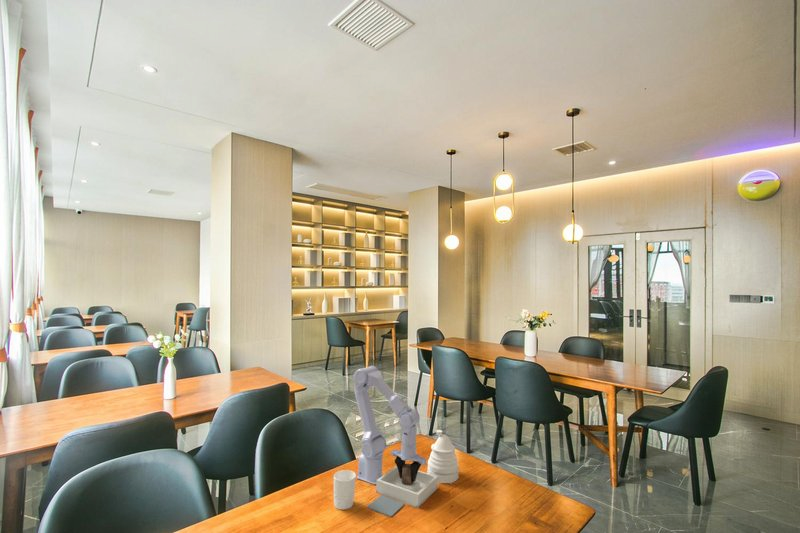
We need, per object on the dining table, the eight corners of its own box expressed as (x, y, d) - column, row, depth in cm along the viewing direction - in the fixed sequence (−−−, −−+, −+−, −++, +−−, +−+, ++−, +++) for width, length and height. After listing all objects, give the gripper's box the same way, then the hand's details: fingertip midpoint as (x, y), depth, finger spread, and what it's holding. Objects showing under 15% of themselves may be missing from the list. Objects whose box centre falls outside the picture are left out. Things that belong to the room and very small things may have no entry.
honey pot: (424, 481, 151) (426, 435, 153) (429, 466, 164) (431, 424, 165) (457, 486, 148) (458, 439, 150) (459, 471, 161) (460, 428, 162)
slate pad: (366, 507, 131) (366, 506, 131) (381, 496, 139) (381, 495, 139) (391, 517, 126) (391, 516, 126) (404, 504, 134) (404, 503, 134)
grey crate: (376, 492, 142) (376, 480, 142) (398, 475, 155) (398, 464, 156) (418, 508, 132) (418, 494, 133) (437, 488, 146) (437, 476, 146)
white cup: (358, 501, 135) (359, 472, 136) (348, 513, 128) (349, 482, 129) (338, 496, 138) (340, 468, 139) (328, 507, 131) (329, 478, 131)
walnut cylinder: (399, 483, 143) (400, 466, 144) (405, 478, 147) (405, 462, 147) (409, 486, 141) (410, 470, 141) (415, 481, 145) (416, 465, 145)
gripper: (387, 441, 145) (386, 478, 144) (420, 451, 138) (419, 489, 137) (396, 436, 151) (395, 470, 150) (429, 444, 144) (428, 481, 143)
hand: (407, 479), depth 144 cm, fingers closed on walnut cylinder, 4 cm apart
